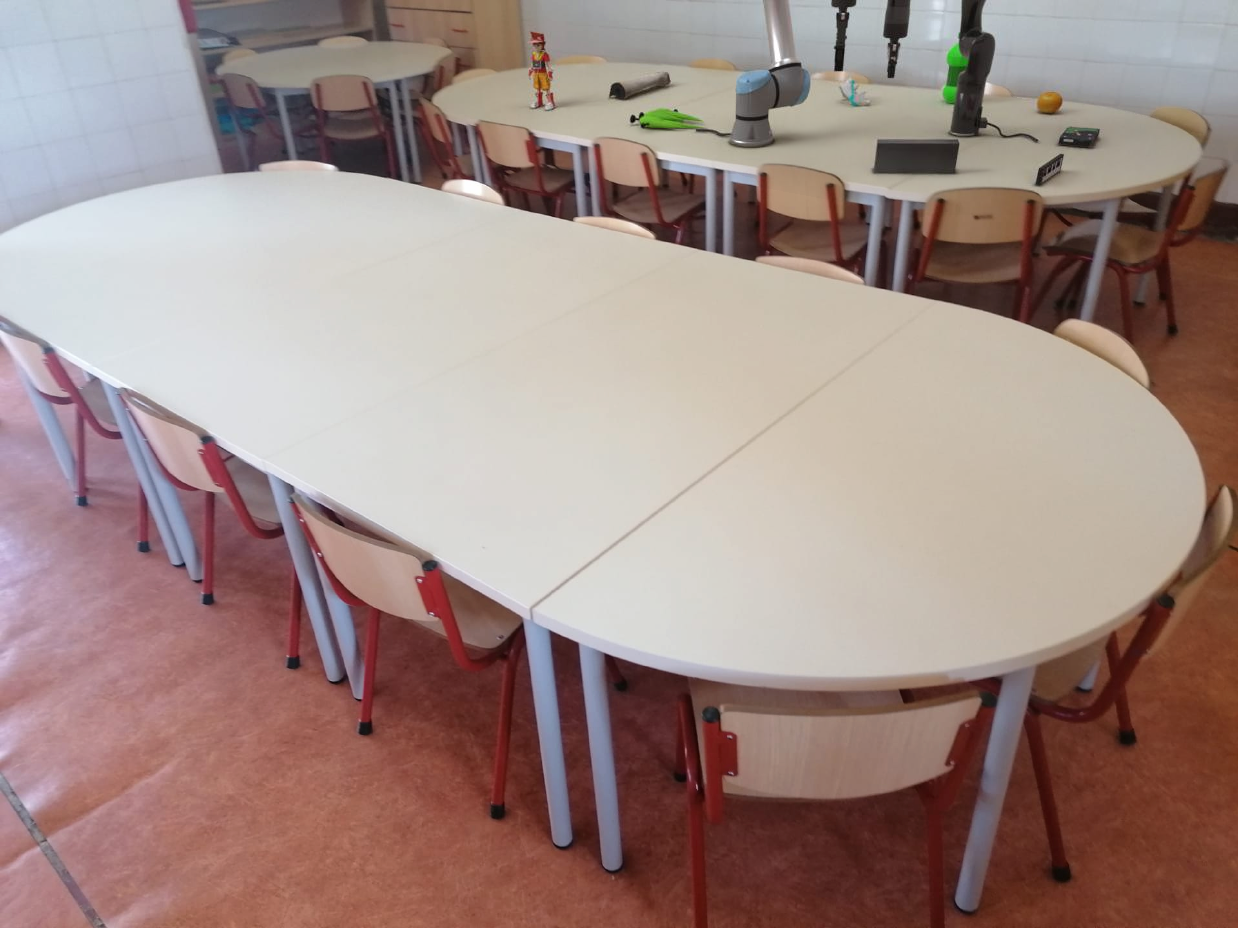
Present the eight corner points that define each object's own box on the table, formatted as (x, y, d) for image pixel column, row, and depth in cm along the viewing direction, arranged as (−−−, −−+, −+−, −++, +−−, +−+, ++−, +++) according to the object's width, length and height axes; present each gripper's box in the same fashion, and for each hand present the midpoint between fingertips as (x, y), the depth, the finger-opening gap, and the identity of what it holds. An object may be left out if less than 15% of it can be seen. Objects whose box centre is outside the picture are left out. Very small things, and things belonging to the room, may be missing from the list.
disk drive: (1091, 148, 296) (1098, 136, 306) (1093, 140, 295) (1100, 128, 305) (1057, 145, 301) (1065, 133, 311) (1059, 137, 299) (1067, 125, 310)
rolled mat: (651, 76, 408) (662, 61, 399) (662, 93, 408) (674, 79, 400) (605, 92, 391) (616, 77, 383) (617, 110, 391) (628, 95, 383)
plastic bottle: (973, 101, 354) (984, 32, 339) (955, 106, 349) (966, 36, 335) (952, 97, 361) (962, 29, 346) (934, 102, 356) (944, 33, 342)
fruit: (1033, 104, 332) (1048, 84, 329) (1031, 108, 340) (1046, 88, 337) (1052, 117, 331) (1068, 97, 327) (1050, 120, 338) (1065, 100, 335)
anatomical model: (834, 77, 364) (859, 70, 363) (837, 103, 370) (861, 96, 369) (845, 85, 351) (870, 78, 351) (847, 112, 357) (872, 105, 357)
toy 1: (525, 109, 381) (517, 32, 364) (534, 104, 388) (527, 28, 371) (550, 110, 377) (543, 32, 360) (559, 105, 384) (553, 28, 367)
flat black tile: (1039, 185, 269) (1043, 168, 266) (1035, 184, 270) (1038, 168, 267) (1060, 170, 279) (1064, 154, 277) (1056, 169, 280) (1060, 153, 277)
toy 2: (619, 127, 344) (687, 140, 332) (619, 113, 342) (688, 126, 329) (655, 115, 365) (720, 127, 352) (656, 102, 362) (722, 114, 350)
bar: (953, 169, 287) (958, 139, 281) (954, 173, 283) (959, 143, 278) (874, 168, 291) (877, 139, 286) (874, 172, 288) (877, 143, 282)
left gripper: (832, -14, 284) (827, 58, 296) (831, -2, 264) (825, 75, 276) (856, -14, 283) (850, 58, 295) (857, -2, 263) (850, 75, 275)
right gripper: (909, 24, 278) (902, 80, 287) (908, 17, 289) (901, 70, 299) (884, 25, 280) (878, 80, 289) (884, 17, 291) (878, 70, 300)
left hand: (838, 66), depth 285 cm, fingers open, 13 cm apart
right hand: (890, 75), depth 294 cm, fingers open, 8 cm apart
